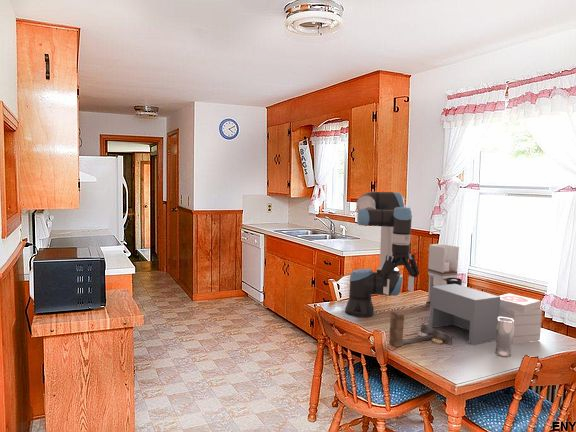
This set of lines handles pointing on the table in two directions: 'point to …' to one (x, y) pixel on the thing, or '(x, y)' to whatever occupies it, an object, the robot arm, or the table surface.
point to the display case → (441, 265)
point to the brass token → (437, 340)
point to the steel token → (422, 333)
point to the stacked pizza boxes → (522, 316)
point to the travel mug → (454, 281)
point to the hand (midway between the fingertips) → (398, 292)
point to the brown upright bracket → (397, 338)
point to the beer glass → (504, 336)
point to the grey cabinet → (465, 311)
